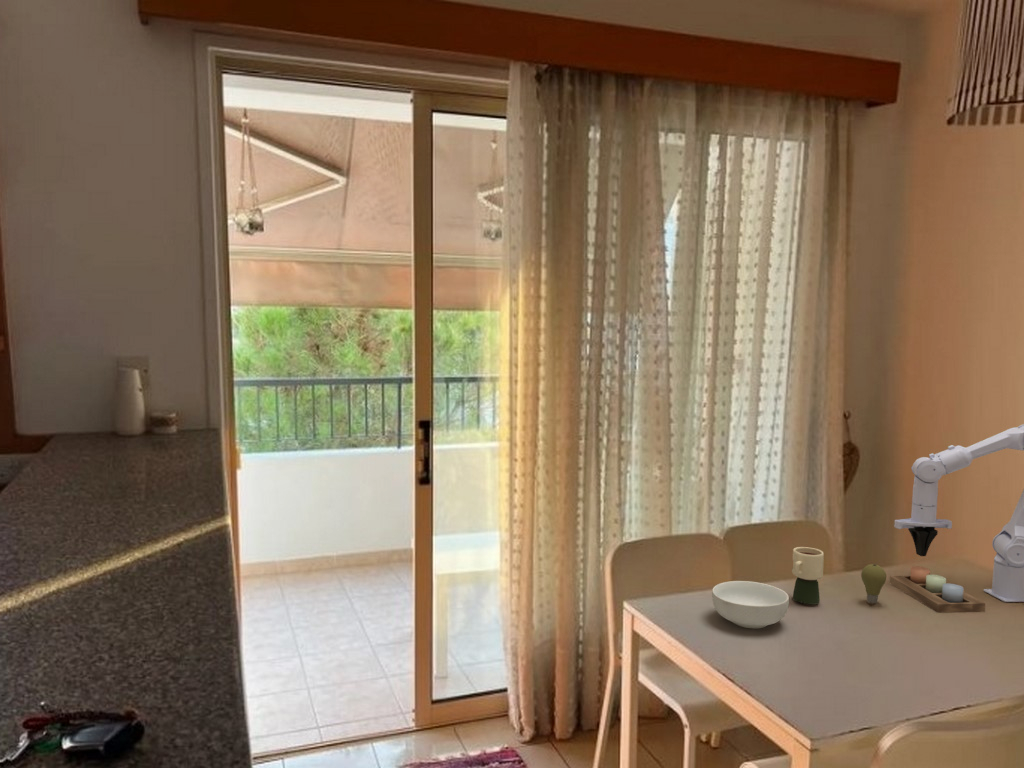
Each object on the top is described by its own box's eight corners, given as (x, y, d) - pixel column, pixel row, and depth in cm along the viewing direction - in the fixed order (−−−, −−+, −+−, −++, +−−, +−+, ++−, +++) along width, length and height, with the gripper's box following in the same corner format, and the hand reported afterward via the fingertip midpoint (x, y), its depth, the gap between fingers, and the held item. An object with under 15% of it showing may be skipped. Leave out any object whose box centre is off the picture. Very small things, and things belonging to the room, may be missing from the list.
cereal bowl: (758, 604, 187) (759, 576, 186) (803, 632, 171) (805, 601, 170) (697, 612, 181) (698, 583, 181) (738, 640, 166) (739, 609, 165)
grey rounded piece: (954, 596, 189) (955, 583, 189) (966, 603, 185) (967, 589, 185) (937, 597, 189) (938, 583, 189) (949, 603, 185) (950, 589, 184)
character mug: (804, 593, 195) (806, 543, 194) (830, 601, 189) (833, 550, 188) (780, 603, 188) (783, 551, 187) (807, 611, 182) (810, 558, 181)
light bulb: (887, 609, 185) (889, 569, 184) (862, 607, 186) (865, 567, 185) (881, 600, 190) (883, 561, 189) (857, 598, 191) (859, 560, 190)
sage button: (938, 587, 196) (938, 574, 195) (949, 593, 191) (950, 580, 191) (921, 587, 195) (922, 574, 195) (932, 594, 191) (933, 580, 191)
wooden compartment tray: (932, 582, 204) (933, 575, 204) (984, 611, 184) (985, 603, 184) (889, 583, 203) (890, 575, 203) (937, 612, 183) (938, 604, 183)
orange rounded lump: (922, 578, 202) (923, 566, 202) (932, 584, 198) (933, 571, 198) (906, 579, 202) (907, 566, 202) (916, 585, 197) (917, 571, 197)
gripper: (941, 500, 203) (937, 549, 204) (889, 500, 201) (885, 550, 203) (958, 506, 196) (955, 558, 197) (904, 507, 194) (901, 559, 196)
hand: (921, 555), depth 199 cm, fingers closed
